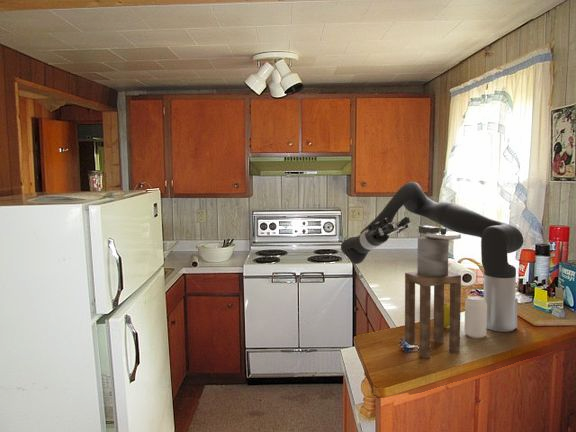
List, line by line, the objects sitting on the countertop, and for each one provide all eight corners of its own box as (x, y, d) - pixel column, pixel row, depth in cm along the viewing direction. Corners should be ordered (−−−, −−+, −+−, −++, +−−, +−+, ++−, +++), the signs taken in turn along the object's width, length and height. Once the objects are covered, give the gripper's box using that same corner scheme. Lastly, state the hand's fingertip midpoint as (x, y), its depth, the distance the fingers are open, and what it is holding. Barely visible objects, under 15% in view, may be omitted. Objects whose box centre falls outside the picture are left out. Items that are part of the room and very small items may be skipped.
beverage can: (473, 330, 143) (474, 293, 142) (490, 336, 138) (491, 298, 137) (460, 334, 140) (460, 296, 139) (476, 340, 135) (477, 301, 134)
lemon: (455, 331, 143) (456, 306, 142) (437, 330, 144) (437, 306, 143) (452, 325, 148) (453, 301, 147) (435, 324, 149) (435, 301, 149)
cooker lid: (435, 232, 137) (435, 223, 137) (468, 238, 124) (468, 228, 124) (409, 234, 134) (409, 225, 134) (440, 240, 121) (440, 231, 121)
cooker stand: (439, 341, 135) (440, 235, 132) (459, 352, 127) (461, 239, 124) (404, 346, 131) (405, 238, 128) (423, 358, 123) (424, 242, 120)
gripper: (354, 228, 162) (376, 210, 148) (387, 225, 167) (412, 208, 153) (359, 248, 159) (382, 232, 145) (393, 244, 164) (418, 229, 150)
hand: (397, 220), depth 149 cm, fingers open, 8 cm apart
